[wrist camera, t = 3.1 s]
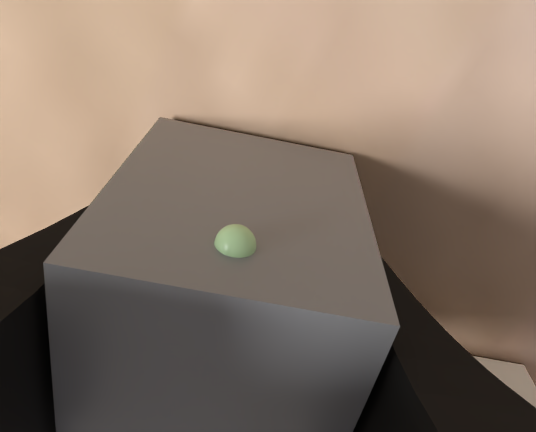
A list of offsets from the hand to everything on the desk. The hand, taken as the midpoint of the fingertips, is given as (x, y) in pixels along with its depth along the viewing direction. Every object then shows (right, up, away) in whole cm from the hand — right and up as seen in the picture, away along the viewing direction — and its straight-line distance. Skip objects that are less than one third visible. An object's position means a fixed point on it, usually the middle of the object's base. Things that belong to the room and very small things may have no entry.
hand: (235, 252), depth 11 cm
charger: (0, +1, +1) cm, 1 cm away
